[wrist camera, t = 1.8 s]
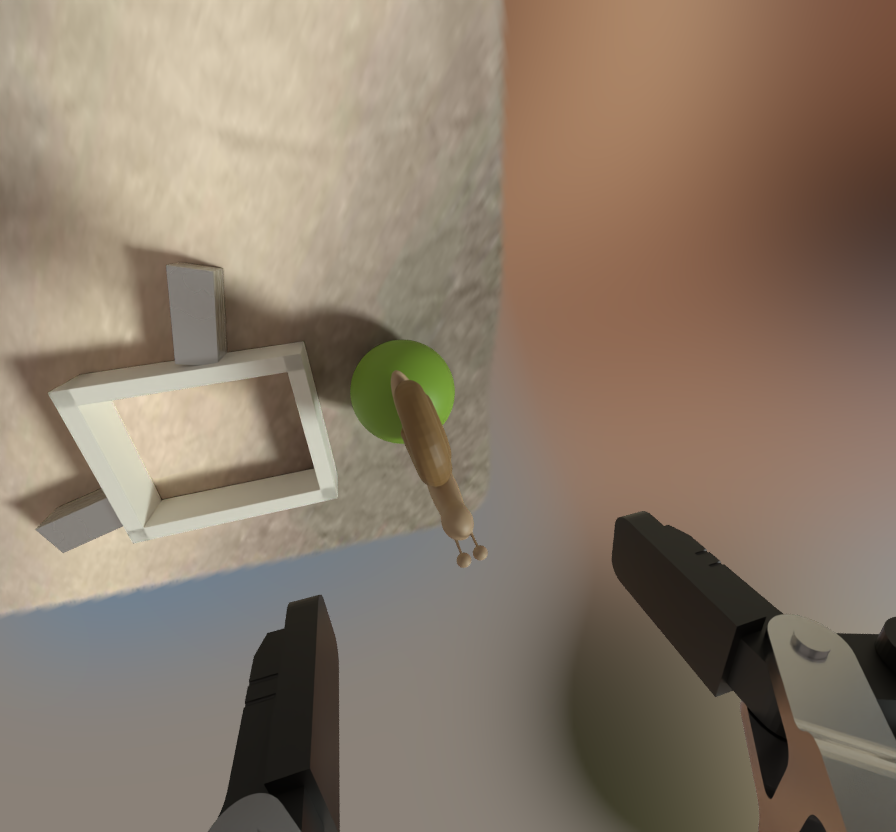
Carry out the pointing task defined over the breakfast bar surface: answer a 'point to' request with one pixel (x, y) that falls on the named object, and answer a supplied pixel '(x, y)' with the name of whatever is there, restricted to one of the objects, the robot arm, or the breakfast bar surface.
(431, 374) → the snail figurine
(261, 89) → the breakfast bar surface
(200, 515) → the white rectangular frame piece
